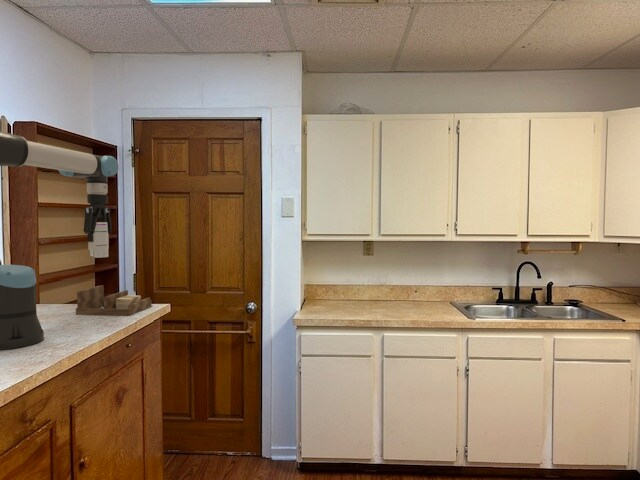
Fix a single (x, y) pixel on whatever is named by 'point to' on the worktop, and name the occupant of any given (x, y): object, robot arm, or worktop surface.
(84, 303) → the walnut rack
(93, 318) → the worktop surface
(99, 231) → the syrup box
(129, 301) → the birch offcut
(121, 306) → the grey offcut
